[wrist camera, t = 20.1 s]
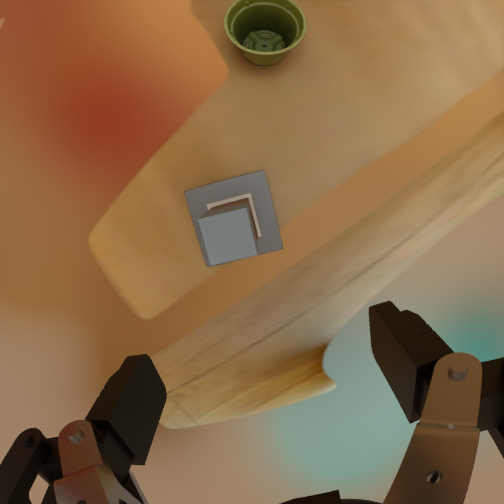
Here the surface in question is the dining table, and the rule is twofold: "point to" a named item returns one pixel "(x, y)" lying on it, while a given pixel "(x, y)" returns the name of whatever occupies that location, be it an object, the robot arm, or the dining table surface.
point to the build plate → (231, 191)
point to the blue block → (228, 234)
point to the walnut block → (236, 204)
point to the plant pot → (265, 28)
